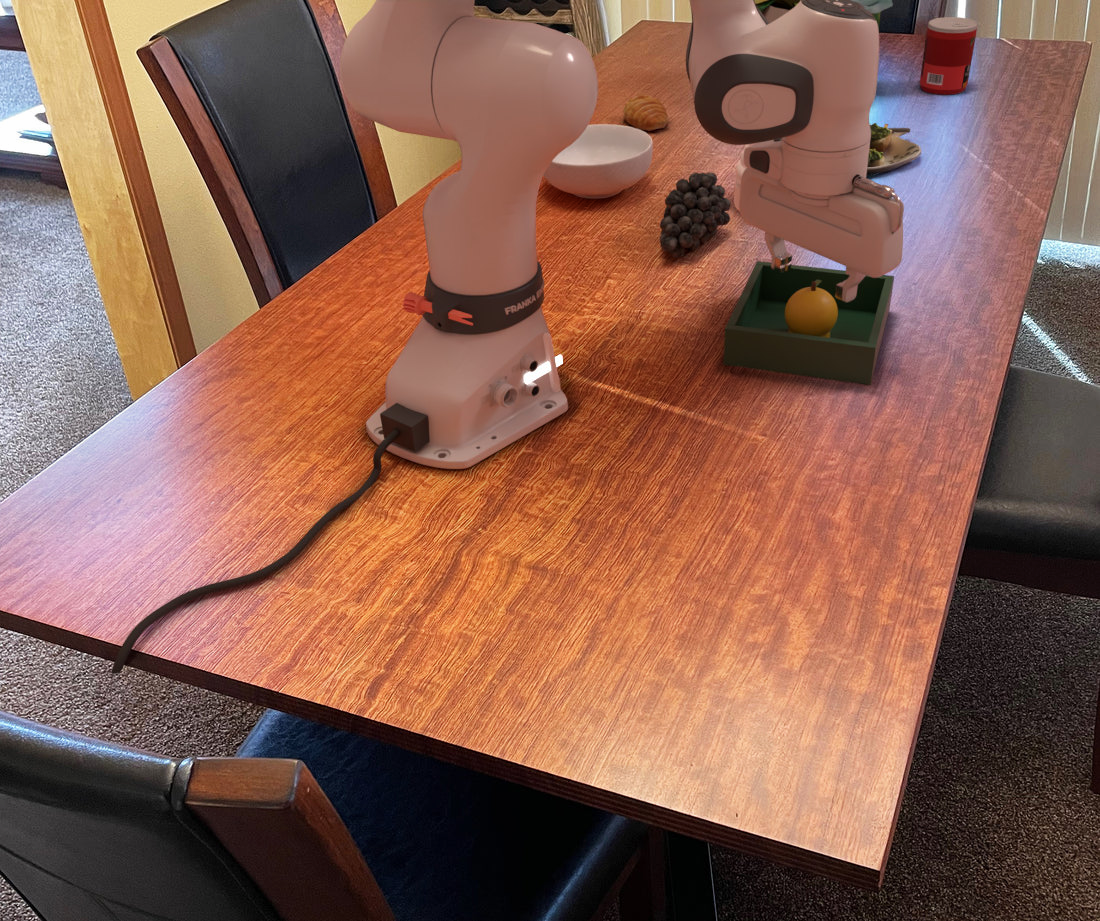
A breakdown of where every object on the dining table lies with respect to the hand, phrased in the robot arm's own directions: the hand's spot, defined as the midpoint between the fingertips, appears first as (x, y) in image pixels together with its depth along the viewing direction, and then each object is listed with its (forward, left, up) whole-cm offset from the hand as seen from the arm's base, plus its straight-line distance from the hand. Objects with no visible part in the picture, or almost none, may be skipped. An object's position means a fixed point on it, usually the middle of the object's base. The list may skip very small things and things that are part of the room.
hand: (812, 283), depth 123 cm
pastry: (+53, +53, -7) cm, 76 cm away
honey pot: (+33, +19, -7) cm, 39 cm away
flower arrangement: (+82, +37, -7) cm, 91 cm away
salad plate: (+54, +17, -7) cm, 57 cm away
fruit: (+15, +24, -7) cm, 30 cm away
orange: (-1, -1, -6) cm, 6 cm away
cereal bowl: (+25, +45, -7) cm, 52 cm away
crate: (-1, -1, -7) cm, 7 cm away
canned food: (+91, +16, -7) cm, 93 cm away
